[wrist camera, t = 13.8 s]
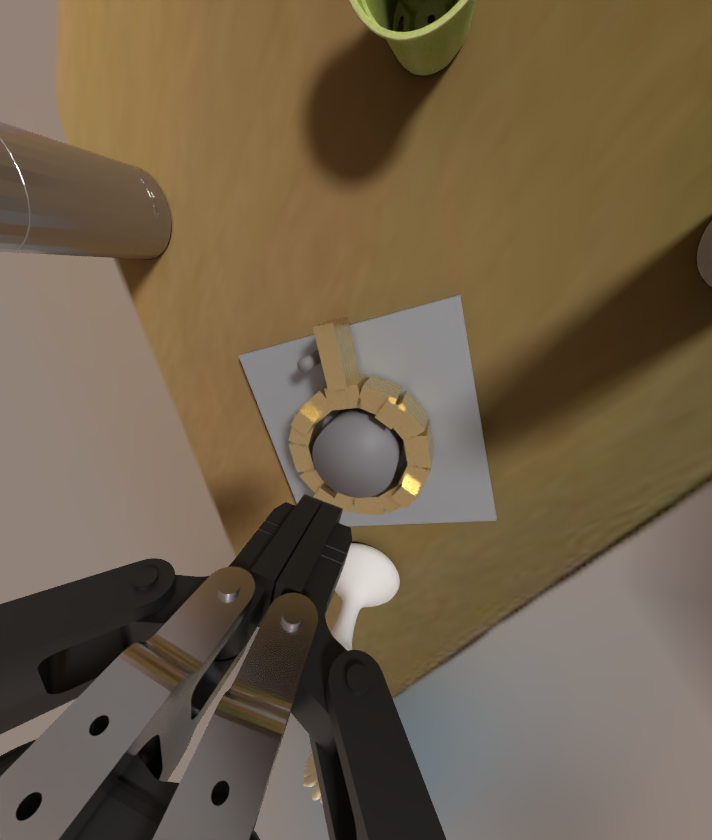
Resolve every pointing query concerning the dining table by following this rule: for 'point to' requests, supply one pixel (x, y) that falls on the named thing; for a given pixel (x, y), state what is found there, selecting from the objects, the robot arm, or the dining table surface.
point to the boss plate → (427, 380)
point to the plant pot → (419, 29)
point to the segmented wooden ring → (370, 396)
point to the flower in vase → (357, 607)
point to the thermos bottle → (705, 255)
